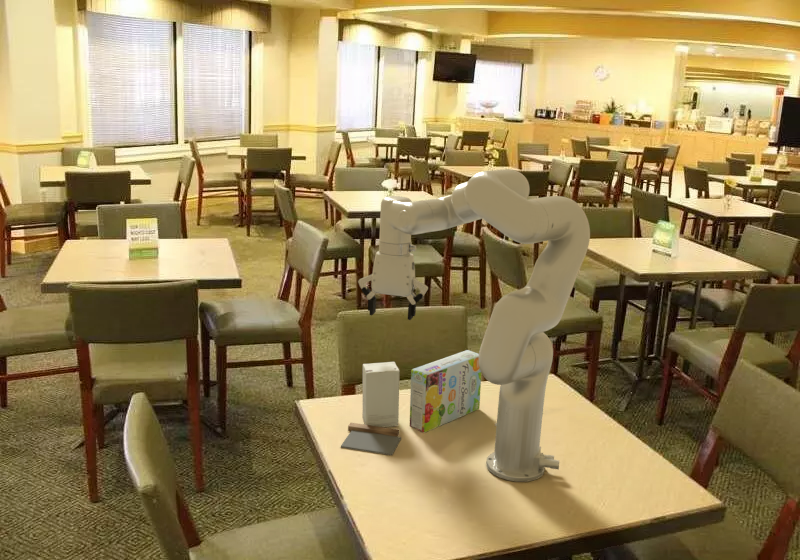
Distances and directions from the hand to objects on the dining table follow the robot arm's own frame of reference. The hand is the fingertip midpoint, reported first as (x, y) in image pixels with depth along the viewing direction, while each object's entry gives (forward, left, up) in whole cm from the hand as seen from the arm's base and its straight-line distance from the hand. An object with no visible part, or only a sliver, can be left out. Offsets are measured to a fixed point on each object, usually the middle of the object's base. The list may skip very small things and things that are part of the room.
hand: (391, 316), depth 184 cm
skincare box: (0, +8, -25) cm, 26 cm away
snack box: (-15, 0, -25) cm, 29 cm away
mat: (-1, +19, -25) cm, 31 cm away
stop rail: (0, +14, -25) cm, 28 cm away
